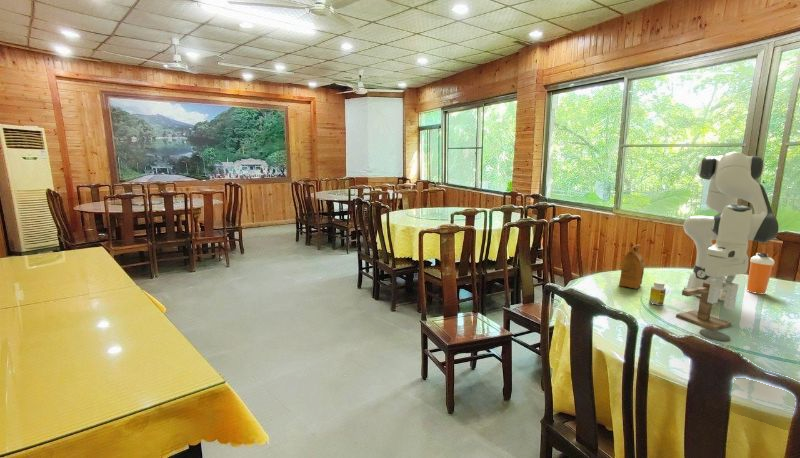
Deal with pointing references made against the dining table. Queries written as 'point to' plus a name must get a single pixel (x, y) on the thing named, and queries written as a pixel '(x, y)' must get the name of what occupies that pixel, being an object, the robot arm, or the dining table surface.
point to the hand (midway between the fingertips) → (723, 286)
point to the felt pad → (714, 335)
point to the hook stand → (702, 310)
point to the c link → (730, 293)
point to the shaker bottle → (759, 272)
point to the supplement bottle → (657, 293)
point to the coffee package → (632, 269)
